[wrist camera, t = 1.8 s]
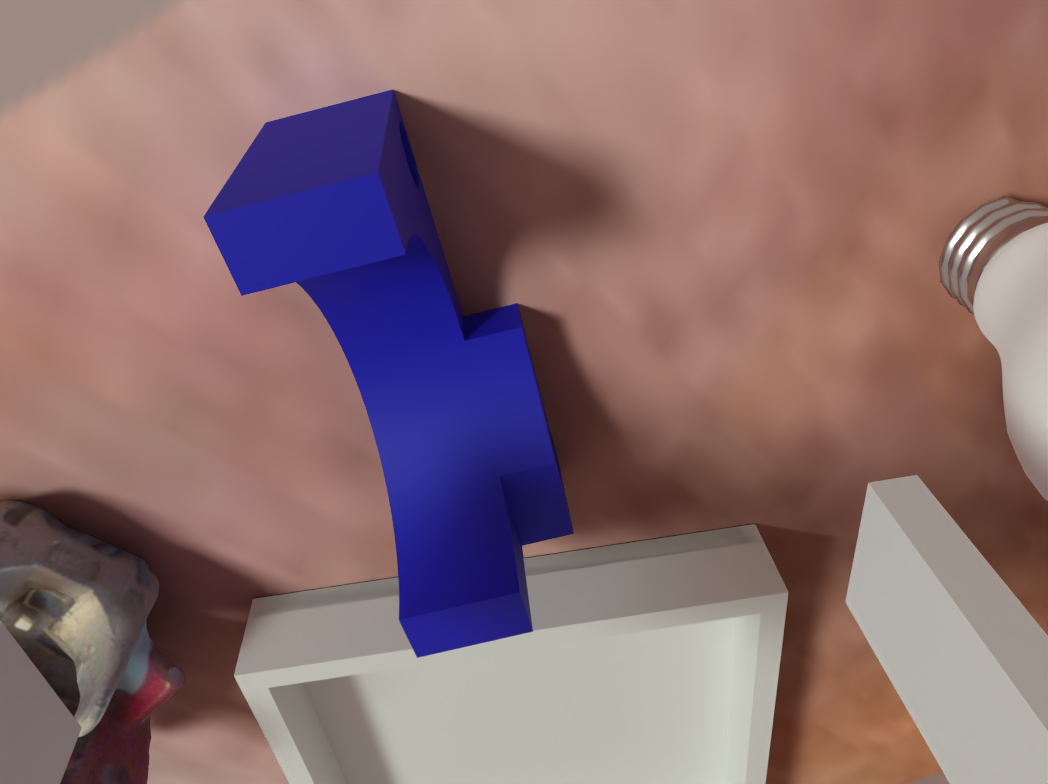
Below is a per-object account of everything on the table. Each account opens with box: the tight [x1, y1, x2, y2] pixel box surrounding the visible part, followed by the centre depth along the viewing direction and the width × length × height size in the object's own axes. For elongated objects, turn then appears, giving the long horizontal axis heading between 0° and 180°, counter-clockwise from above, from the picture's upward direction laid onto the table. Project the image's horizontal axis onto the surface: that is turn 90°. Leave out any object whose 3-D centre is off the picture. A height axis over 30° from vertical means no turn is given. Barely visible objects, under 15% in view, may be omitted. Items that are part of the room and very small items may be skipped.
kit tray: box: [234, 524, 789, 784], centre depth 30 cm, size 17×17×3 cm
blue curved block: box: [204, 90, 574, 658], centre depth 19 cm, size 12×4×6 cm, turn 13°
